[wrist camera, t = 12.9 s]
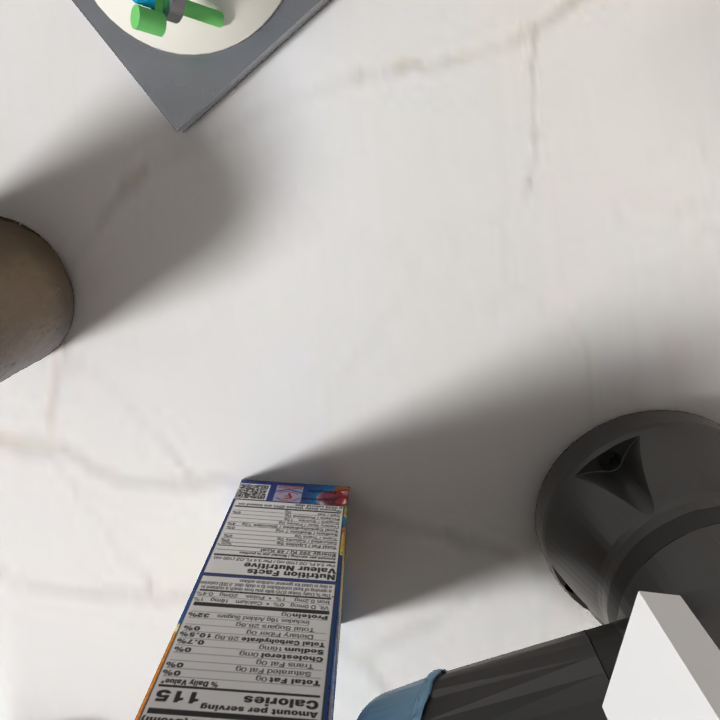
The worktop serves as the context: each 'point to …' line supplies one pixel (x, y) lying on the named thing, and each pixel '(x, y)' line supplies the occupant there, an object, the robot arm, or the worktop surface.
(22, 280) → the pillar candle
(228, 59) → the carrier plate
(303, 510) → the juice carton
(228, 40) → the disc
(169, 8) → the gear
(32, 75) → the worktop surface
